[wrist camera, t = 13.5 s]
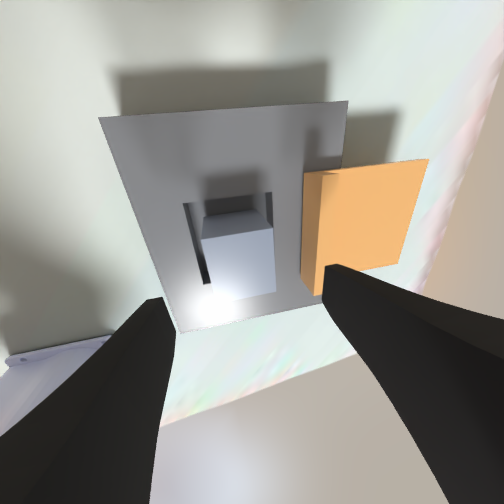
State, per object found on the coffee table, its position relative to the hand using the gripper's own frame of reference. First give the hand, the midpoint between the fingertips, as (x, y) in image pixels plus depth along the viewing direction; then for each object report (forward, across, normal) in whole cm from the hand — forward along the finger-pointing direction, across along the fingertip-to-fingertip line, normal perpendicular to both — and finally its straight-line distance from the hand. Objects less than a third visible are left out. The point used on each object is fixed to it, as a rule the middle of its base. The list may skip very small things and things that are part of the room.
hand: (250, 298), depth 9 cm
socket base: (+9, -1, 0) cm, 9 cm away
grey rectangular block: (+8, 0, 0) cm, 8 cm away
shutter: (+6, -10, 0) cm, 11 cm away
